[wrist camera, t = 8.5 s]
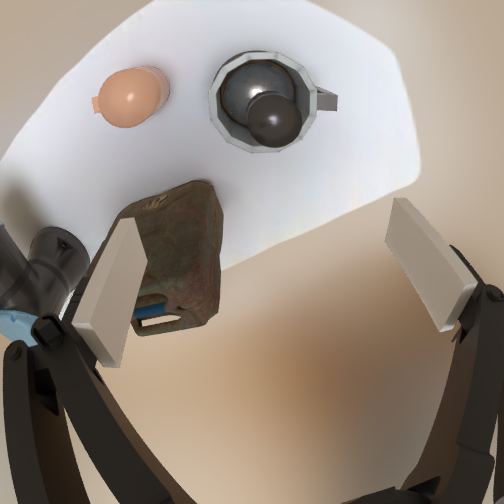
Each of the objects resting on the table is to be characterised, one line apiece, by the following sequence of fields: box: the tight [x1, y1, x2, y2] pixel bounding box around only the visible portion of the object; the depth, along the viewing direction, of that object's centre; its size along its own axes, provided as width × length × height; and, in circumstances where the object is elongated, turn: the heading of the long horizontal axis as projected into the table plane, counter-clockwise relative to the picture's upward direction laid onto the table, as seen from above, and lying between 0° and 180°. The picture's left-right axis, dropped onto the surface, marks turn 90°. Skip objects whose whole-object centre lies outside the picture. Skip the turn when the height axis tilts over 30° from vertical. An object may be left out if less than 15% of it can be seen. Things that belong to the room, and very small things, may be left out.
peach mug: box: [92, 66, 170, 128], centre depth 35 cm, size 10×8×9 cm
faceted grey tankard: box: [208, 51, 338, 153], centre depth 35 cm, size 15×13×13 cm
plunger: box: [224, 63, 303, 148], centre depth 29 cm, size 9×9×18 cm
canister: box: [85, 181, 223, 336], centre depth 42 cm, size 19×8×25 cm, turn 107°
